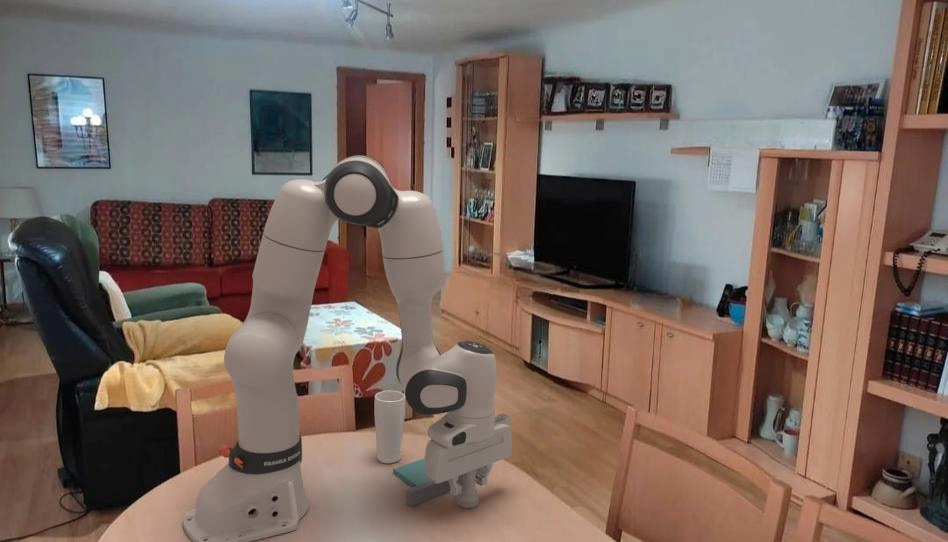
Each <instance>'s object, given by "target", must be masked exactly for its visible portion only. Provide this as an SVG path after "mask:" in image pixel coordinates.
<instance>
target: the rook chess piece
mask: <svg viewBox="0 0 948 542" xmlns="http://www.w3.org/2000/svg"><path fill="white" fill-rule="evenodd" d="M477 472H478V470H477V469H476V470H473V471H470V472H468V473H465V474H463V476H462V479H463V484H462V490H461V491H462V492H461V494H459V495H457V500H456V502H457V504H458V505H459V507H461V508H464V509H474V508H476V507H477V506H478V505H479V503H480V500H479V499H480V495H479V493H478V491H477V488H476V481H475V480H476V477H475V474H476V473H477Z"/></svg>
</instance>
